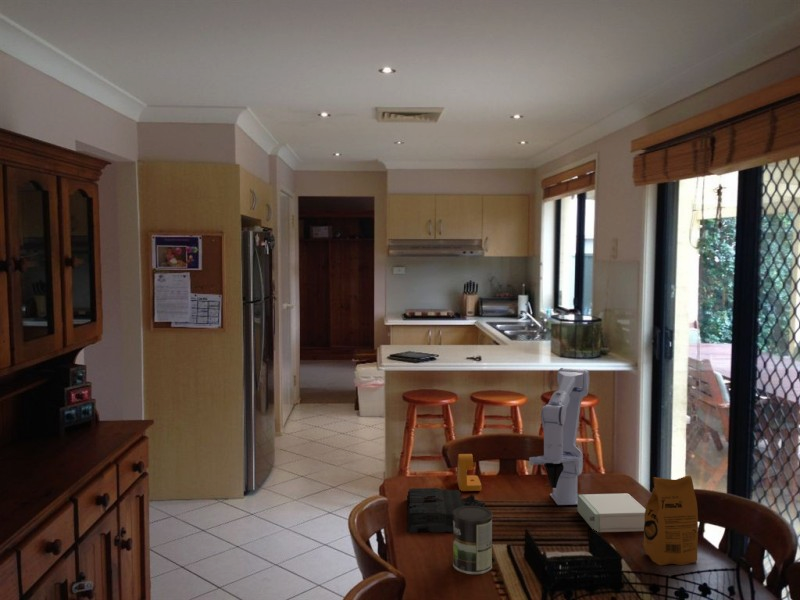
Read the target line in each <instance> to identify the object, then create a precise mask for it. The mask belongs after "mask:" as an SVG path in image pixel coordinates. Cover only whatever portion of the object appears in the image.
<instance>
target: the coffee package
mask: <svg viewBox="0 0 800 600" xmlns="http://www.w3.org/2000/svg"><path fill="white" fill-rule="evenodd" d="M652 482H653V486H654V487H653V488H652V491H651V493H650V496H649V498H648V500H647V503H646V505H645V509H646V510H645V520H644V531H643V548H644V553H645V555H646V556H648V557H649V558H650V560H651V562H653V563H655V564H656V565H658V566H666V565H671V564H672V565H673V564H674V565H677V566H684V565H685V566H686V565H689V564H694V563H697V562H698V544H699V543H698V541H699V539H698V537H699V522H698V521H699V513H698V512H699V511H698V501H697V497H696V493H695V487H694V486H695V485H694V482H693V478H692V475H685V476H683V477H679V478H677V479H673V478H672V479H671V478H663V477H655V476H653V477H652Z"/></svg>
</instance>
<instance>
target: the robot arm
mask: <svg viewBox="0 0 800 600" xmlns="http://www.w3.org/2000/svg"><path fill="white" fill-rule="evenodd" d="M590 376H591V375H590V371H589V370H588V369H578V368H577V369H573V368H564V367H560V368H559V369H558V371H557V376H556V377H557V378H556V379H557V380H556V381H557V385H558V389H557V390H556V391H554V392H553V393H552V395H551V397H550V399H549V401H548V403H547V404H545V405H543V406H542V408H541V416H540V417H541V422H542V423H541V424H542V429H543V455H539V456H531V457H529V458H528V459H529V465H530V466H535V465H543V467H544V469H545V471H546V474H547V477H548V481H549V486H550V487H551V489H552V493H550V494H549V496H550V498H552V499H553V501H554V502H555V504H557V506H565V505H566V506H568V505H573V506H574V505H577V504H578V476H580V475H581V474H582V472H583V468H584V462H583V461H584V459H583V458H584V454H583V452H582V450H580V448H578V447H577V436H578V428H579V422H580V420H579V419H580V414H581V407H582V406H581V405H582V402H583V398H584V397H587V396H588V393H589V389H590V380H591V379H590Z"/></svg>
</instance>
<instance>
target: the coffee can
mask: <svg viewBox="0 0 800 600" xmlns="http://www.w3.org/2000/svg"><path fill="white" fill-rule="evenodd" d="M452 533H453V538H452V539H453V540H452V543H453V545H452V548H453V550H452V551H453V553H452V555H453V559H452V561H453V562H452V566H453V568H454V569H455V570H456V571H457V572H460V573H462V574H467V575H482V574H486V573H488V572H489V571H491V570H492V568H493V560H492V559H493V557H492V556H493V555H492V554H493V553H492V552H493V551H492V549H493V544H492V542H493V537H492V536H493V512H492V510H490V509H489V508H487V507H485V506H484V507H480V506H462V507H459V508H456V509H455V510H454V511H453V532H452Z"/></svg>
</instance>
